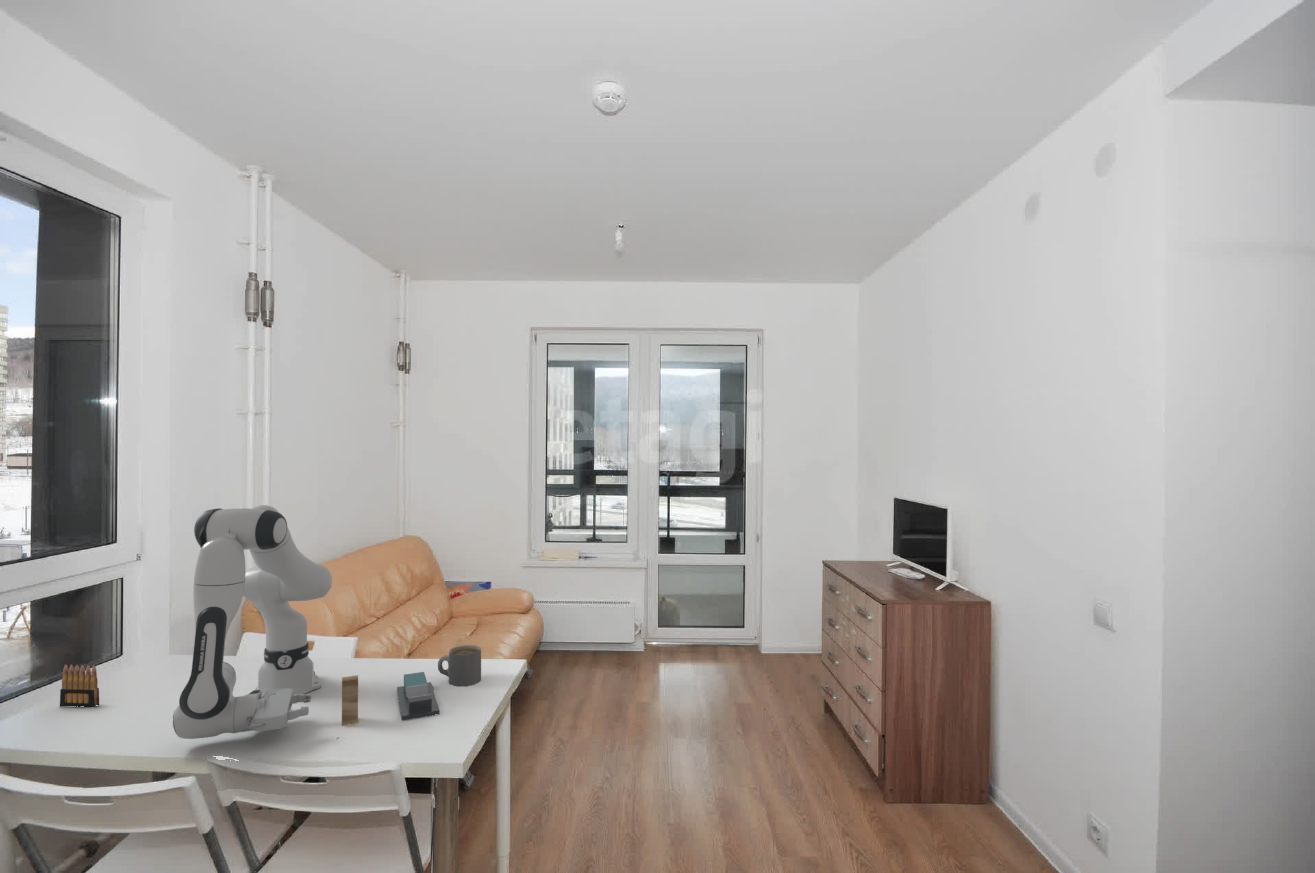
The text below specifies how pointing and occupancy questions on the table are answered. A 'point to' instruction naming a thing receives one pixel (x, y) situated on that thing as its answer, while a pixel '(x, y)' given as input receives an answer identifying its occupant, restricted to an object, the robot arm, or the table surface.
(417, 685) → the block
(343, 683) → the oak block
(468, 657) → the coffee mug
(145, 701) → the table surface
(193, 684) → the robot arm
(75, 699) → the ammunition clip
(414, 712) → the vise
